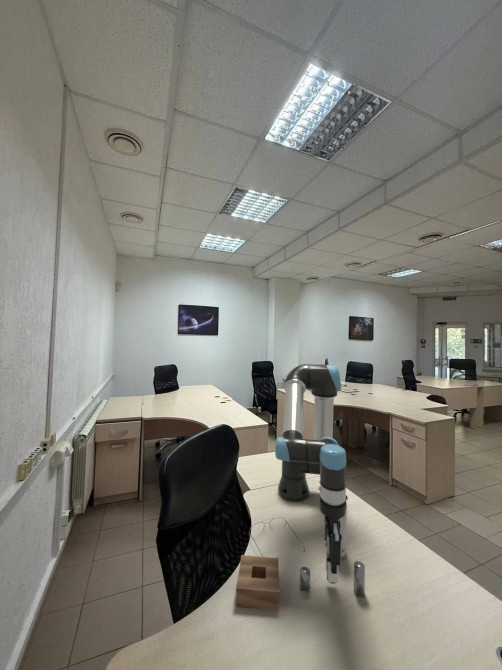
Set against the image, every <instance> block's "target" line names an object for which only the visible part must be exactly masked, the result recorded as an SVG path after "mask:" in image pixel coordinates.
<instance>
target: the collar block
mask: <svg viewBox="0 0 502 670" xmlns="http://www.w3.org/2000/svg"><path fill="white" fill-rule="evenodd" d="M279 567H280V565H279V557H269V556H263V557H262V556H260V555H259V556H256V555H245V554H244V555H243V554H241V555H240V563H239V568H238V575H237V583H236V587H235V588H236V589H235V591H236V592H235V593H236V594H235V600H236V601H235V606H236V607H237V608H238V607H239V608H248V609H259V610H269V611H280V573H279V572H280V568H279Z"/></svg>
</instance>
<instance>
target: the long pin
mask: <svg viewBox="0 0 502 670" xmlns="http://www.w3.org/2000/svg"><path fill="white" fill-rule="evenodd" d="M326 549H327V558H329V537H328V534H327V547H326ZM326 580H327V582H328V583H329V584H336V583H335V582H329V581H328V562H327V571H326Z"/></svg>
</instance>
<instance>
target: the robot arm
mask: <svg viewBox="0 0 502 670" xmlns="http://www.w3.org/2000/svg"><path fill="white" fill-rule="evenodd" d="M341 381H342V380H341V375H340V370H339V367H338V366H336V365H334V364H311V363H310V364H307V363H304V364H303V363H302V364H300V365H297V366H295V367H294V368H292V370H290V371H289V372H288V374H287V375H286V377H285V380H284V382H283V384H284V385H283V389H284V392H285V397H284V398H285V400H284V410H283V411H284V412H283V425H282V436H277V437H276V439H275V444H274V445H275V446H274V447H275V449H274V453H275V454H274V456H275V458H276V459H277V460H279V461H281V477H280V480H279V483H278V485H277V486H278V487H277V492H279V493H278V495H279V494H280V495H281V496H282V497H281V496H280V495H279V496H280V497H281V498H282V499H284V498H285V499H284V500H287V501H290V502H300V501H304V500H307V499H308V498H309V497H310V487H309V485H308V481H307V477H306V476H307V474H309V475H318V476H319V479H320V480H319V486H318V487H317V490H318V491H319V510H320V513H322V514H323V515H324V541H325V547H326V549H325V571H326V572H327V562H328V581H329V582H335V584H337V583H339V567H340V566H341V559H340V554H341V539H342V536H341V534H340V521H338V520H339V519H340V518H342V517H344V515H345V510H346V506H347V504H346V503H347V502H346V503H345V500H346V496H347V486H346V483H347V481H346V478H347V477H346V475H347V471H346V470H347V462H348V461H347V456H346V455H347V452H346V450H345V448H343V447H342V446H340V445H339V443H338V442H337V440H336V439H335V438H334V437H333V436H334V435H333V434H334V433H333V432H334V431H333V429H334V399H335V398H336V397H337V396H338V392H341V391H342V382H341ZM306 390H307V391H309V390H310V392H311V393H310V394H311V395H312V396H313V397H314V410H313V412H314V413H313V414H314V416H313V417H314V418H313V422H314V423H313V439H307V438H304V396H305V395H304V393H305V392H306ZM346 501H347V500H346ZM327 534H328V537H329V558H327ZM328 581H327V582H328ZM329 582H328V583H329Z"/></svg>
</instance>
